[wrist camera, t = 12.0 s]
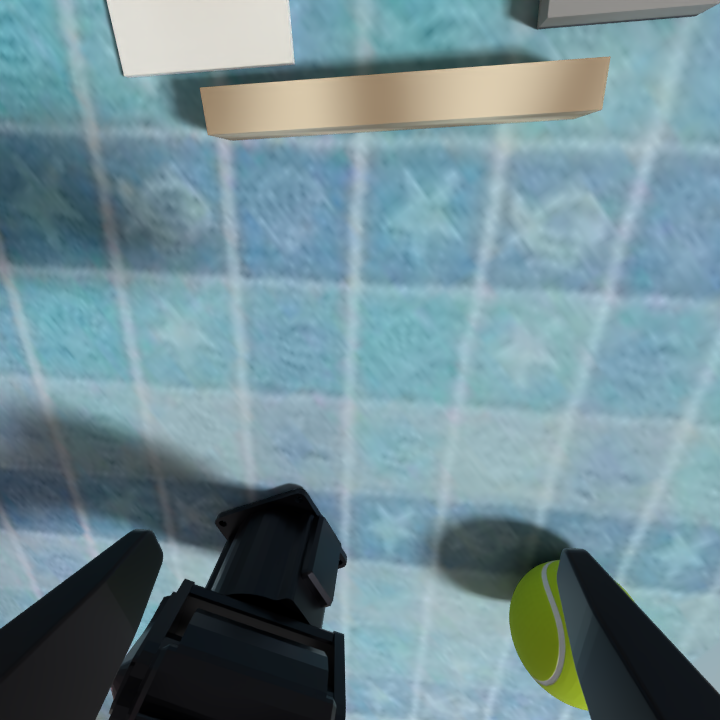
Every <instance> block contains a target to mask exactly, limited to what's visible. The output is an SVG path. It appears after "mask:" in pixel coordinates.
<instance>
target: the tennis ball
mask: <svg viewBox="0 0 720 720" xmlns="http://www.w3.org/2000/svg"><path fill="white" fill-rule="evenodd" d="M559 561H560V560H554V561H549V562H545V563H543V564H540V565H538V566H536V567H534V568H533V569H532V570H530V571H529V572H528V573H527V574H526V575H525V576H524V577H523V578H522V579H521V580H520V582H519V583H518V585H517V587H516V589H515V591H514V593H513V596H512V599H511V604H510V612H509V622H510V630H511V635H512V640H513V643H514V646H515V649H516V651H517V653H518V656H519V658H520V660H521V661H522V663H523V665H524V666H525V668H526V669H527V671H528V672H529V673H530V675H531V676H532V677H533V678H534V680H535V681H536V682H537V683H538V684H539V685H540V686H541V687H542V688H544V689H545V690H546V691H547V692H548V693H550V694H551V695H552V696H554V697H555V698H557V699H559V700H560V701H562V702H564V703H566V704H568V705H570V706H573V707H576V708H579V709H582V710H588V707H587V704H586V701H585V698H584V695H583V692H582V689H581V686H580V682H579V679H578V675H577V672H576V668H575V664H574V660H573V656H572V651H571V646H570V642H569V637H568V632H567V628H566V623H565V618H564V614H563V609H562V604H561V600H560V595H559V590H558V585H557V570H558V566H559ZM614 581H615V580H614ZM615 582H616V581H615ZM616 583H617V582H616ZM617 584H618V583H617ZM618 585H619V584H618ZM619 586H620V585H619ZM620 587H621V586H620ZM621 588H622V587H621ZM622 589H623V588H622ZM623 590H624V589H623ZM624 591H625V590H624ZM625 592H626V591H625ZM626 594H627V595H628V596H629V597H630V595H629V594H628V593H627V592H626ZM630 598H631V597H630ZM631 599H632V598H631ZM632 600H633V599H632Z"/></svg>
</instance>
